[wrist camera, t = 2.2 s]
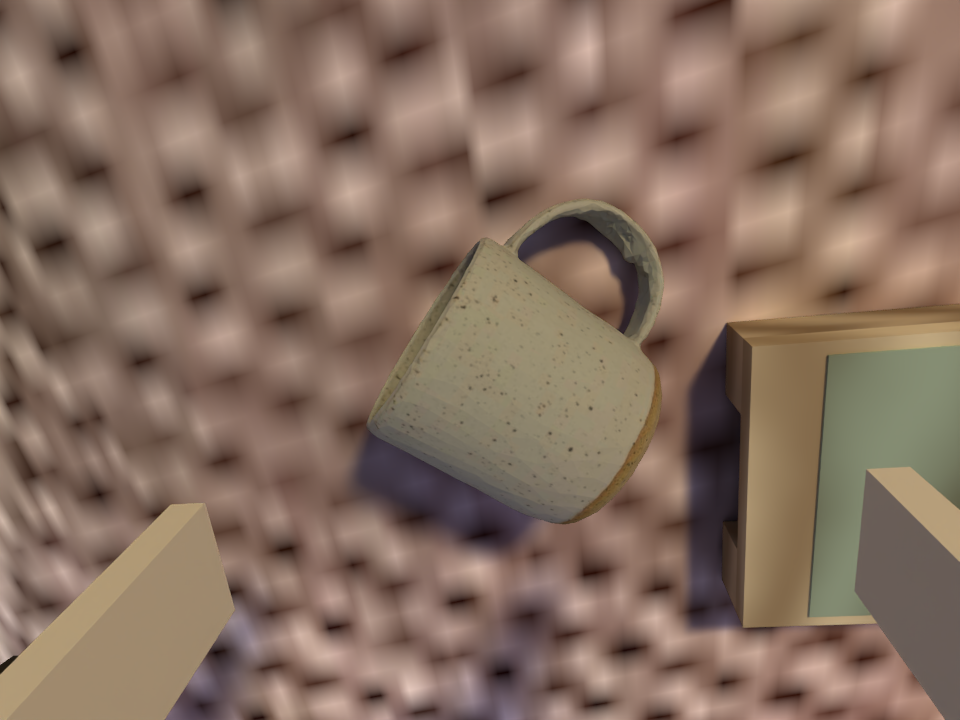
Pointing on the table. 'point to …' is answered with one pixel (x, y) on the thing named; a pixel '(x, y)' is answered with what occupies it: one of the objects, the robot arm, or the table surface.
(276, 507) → the table surface
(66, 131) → the table surface
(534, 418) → the ceramic mug
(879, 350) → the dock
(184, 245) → the table surface
